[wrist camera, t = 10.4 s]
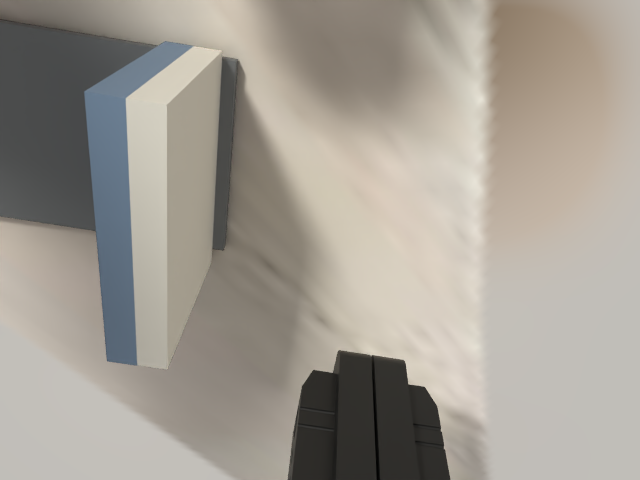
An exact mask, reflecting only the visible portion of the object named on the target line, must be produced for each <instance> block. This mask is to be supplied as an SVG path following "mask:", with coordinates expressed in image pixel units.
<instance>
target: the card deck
mask: <svg viewBox="0 0 640 480" xmlns="http://www.w3.org/2000/svg"><path fill="white" fill-rule="evenodd" d="M221 69H222V51H220V50H214V49H208V48H202V47H196V46H190V45H184V44H178V43H172V42H166V41H165V42H163V43H162V44H160V45H159V46H157V47H155V48H154V49H152V50H151V51H149V52H147V53H146V54H144V55H142V56H141V57H139V58H138V59H136V60H134V61H133V62H131V63H130V64H128V65H126V66H125V67H123V68H121V69H120V70H118V71H117V72H115V73H113V74H112V75H110V76H108V77H107V78H105V79H104V80H102V81H100V82H99V83H97V84H96V85H94V86H92V87H91V88H89V89H87V90H86V91H84V95H85V107H86V119H87V131H88V142H89V154H90V166H91V178H92V190H93V202H94V213H95V225H96V237H97V249H98V261H99V273H100V284H101V296H102V308H103V320H104V332H105V344H106V355H107V361H109V362H116V363H123V364H130V365H137V366H144V367H150V368H157V369H164V370H168V367H169V365H170V362H171V360H172V357H173V355H174V353H175V350H176V348H177V345H178V343H179V340H180V338H181V336H182V333H183V331H184V328H185V326H186V323H187V321H188V318H189V316H190V314H191V311H192V309H193V306H194V304H195V301H196V299H197V296H198V294H199V292H200V289H201V287H202V284H203V282H204V279H205V277H206V275H207V272H208V270H209V267H210V265H211V262H212V244H213V224H214V205H215V186H216V166H217V147H218V127H219V108H220V88H221Z"/></svg>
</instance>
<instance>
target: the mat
mask: <svg viewBox="0 0 640 480" xmlns="http://www.w3.org/2000/svg"><path fill="white" fill-rule="evenodd" d="M155 47H157V46H156V45H150V44H144V43H138V42H132V41H126V40H120V39H114V38H108V37H102V36H96V35H90V34H84V33H78V32H72V31H66V30H60V29H54V28H48V27H42V26H36V25H30V24H24V23H18V22H12V21H6V20H0V216H2V217H8V218H15V219H21V220H28V221H34V222H41V223H47V224H54V225H60V226H67V227H73V228H80V229H87V230H93V231H96V225H95V213H94V202H93V190H92V178H91V166H90V154H89V142H88V131H87V119H86V107H85V95H84V91H86V90H87V89H89V88H91V87H92V86H94V85H96V84H97V83H99V82H100V81H102V80H104V79H105V78H107V77H108V76H110V75H112V74H113V73H115V72H117V71H118V70H120V69H121V68H123V67H125V66H126V65H128V64H130V63H131V62H133V61H134V60H136V59H138V58H139V57H141V56H142V55H144V54H146V53H147V52H149V51H151V50H152V49H154V48H155ZM237 65H238V59H234V58H228V57H222V69H221V88H220V108H219V127H218V147H217V166H216V186H215V205H214V224H213V244H212V249H217V250H224V248H225V243H226V228H227V213H228V199H229V184H230V169H231V154H232V139H233V124H234V110H235V95H236V80H237Z"/></svg>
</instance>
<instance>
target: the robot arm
mask: <svg viewBox="0 0 640 480" xmlns="http://www.w3.org/2000/svg"><path fill="white" fill-rule="evenodd" d="M288 480H450V475H449V470H448V464H447V459H446V453H445V449H444V442H443V436H442V432H441V425H440V420H439V414H438V408H437V406H436V404H435V402H434V401H433V399H432V398H431V396H430V394H429V393H428V391H427V390H426V388H425V387H421V386H415V385H408V379H407V371H406V364H405V361H404V360H400V359H393V358H387V357H380V356H374V355H372V356H370V355H367V354H360V353H354V352H347V351H341V350H339V351H338V354H337V357H336V362H335V366H334V371H333V373H329V372H322V371H316V370H313V371H312V373H311V374H310V376H309V377H308V379H307V380H306V381H305V383H304V384H303V386H302V390H301V395H300V400H299V405H298V410H297V416H296V421H295V426H294V431H293V440H292V448H291V456H290V465H289V473H288Z"/></svg>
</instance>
